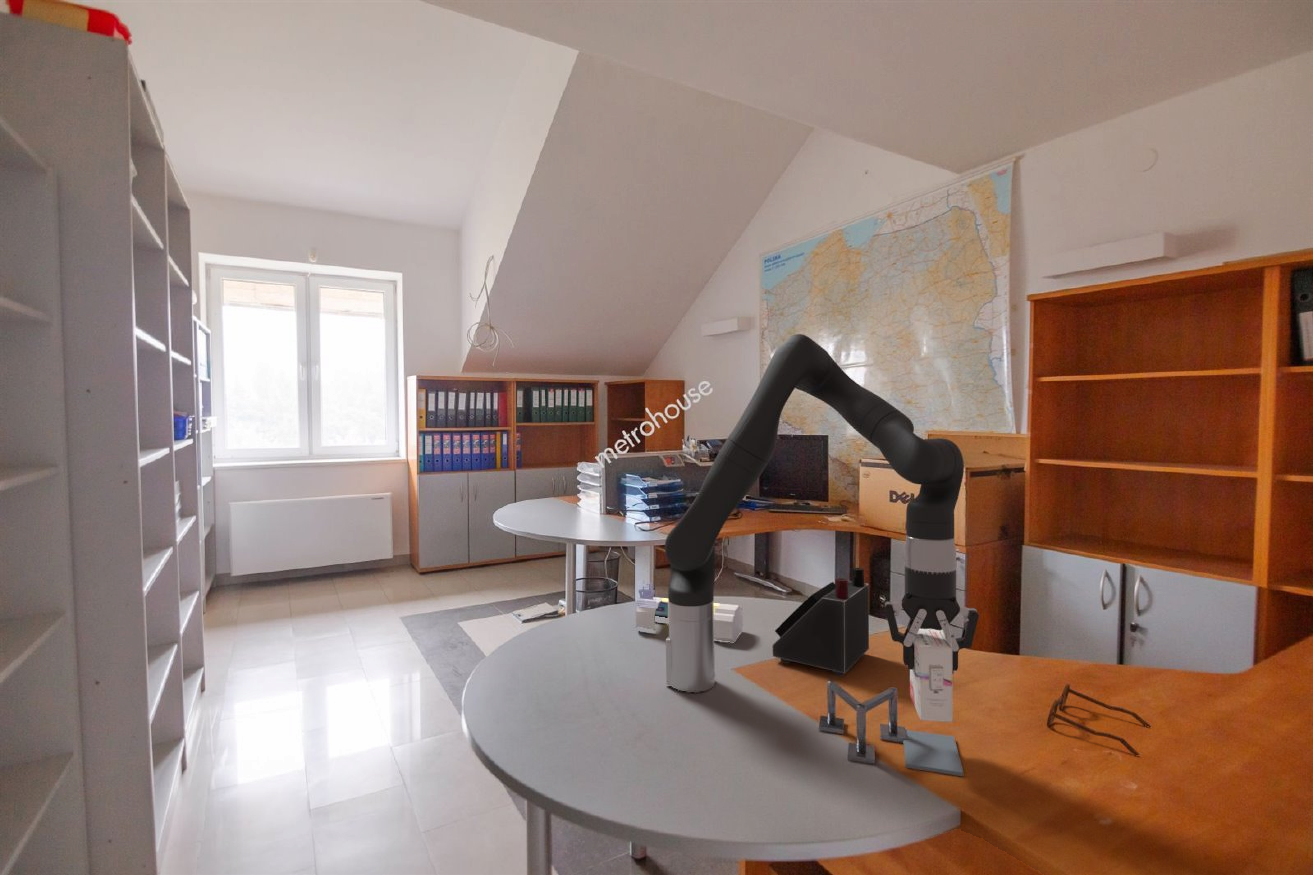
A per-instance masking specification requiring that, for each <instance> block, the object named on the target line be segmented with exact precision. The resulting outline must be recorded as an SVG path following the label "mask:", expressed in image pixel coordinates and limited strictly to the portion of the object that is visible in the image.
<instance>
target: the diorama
mask: <svg viewBox="0 0 1313 875" xmlns="http://www.w3.org/2000/svg"><path fill="white" fill-rule="evenodd" d="M653 589H654V584H653V583H652V582H650V583H646V589H645V586H642V589H641V588H639V589H638V593H639V598H637V607H636V611H635V624H636V625H635V627H643V628H647V629H653V630H655V631H656V627H655V626H656V623H655V616H659V617H665V618H669V612H668V597H667V598H665V597H657V596H655V594H656V590H655V589H654V590H653ZM743 614H744V613H743V607H742V606H741V605H737V604H727V603H717V602H714V639H716V640H722V641H730V642H734V641H735V640H736V638H737V636H738V635H739V633H740V632H741V631H742V632H743V625H744V624H743V623H744V622H743V620H744V619H743V618H744V617H743ZM736 641H737V640H736ZM736 641H735V642H736Z"/></svg>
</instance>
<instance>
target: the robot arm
mask: <svg viewBox="0 0 1313 875" xmlns="http://www.w3.org/2000/svg"><path fill="white" fill-rule="evenodd" d="M795 389H796V390H798V391H800V392H804V393H806V394H808V395H810V396H812V397H813V398H816V399H818V400H820V401H822V402H824V403H825V404H827V405H828V406H830V407H831V408H832V409H834V410H835V411H836V412H837V413H838V414H839V415H840V416H841V417H842V418H843V419H844V420H845V421H846V423H847V424H849V425H850V426H851V427H852V429H853V430H855V431H856V432H857V433H858V434H860V435H861V437H863V438H865V439H866V440H867V441H868V442H869V443H871V444H872V445H873V446H875V447H876V449H878V450H879V451H880V453H881V454H882V456H883V457H884V459H885V460H886V461H887V462H888V464H889V465H890V466H891V468H892V469H893V470H894V471H895V472H896V474H897V475H898V476H900V477H901V478H903V479H904V480H905V481H908V482H910V483H912V484H915V485H920V488H919V491H918V492H919V493H918V494H917V496H916V497H914V498H912V499H911V500H910V501H909V502H908V503H907V505H906V509H905V510H906V511H905V512H906V513H905V522H906V523H905V531H906V532H905V543H904V555H903V560H904V595H903V597H902V599H901V600H900V601H894V602H892V601H890V600H887V601H885V602H884V611H885V615H886V620H887V623H888V624H887V625H888V627H889V631H890V633H889V634H890V637H891V640H892V641H893V642H896V643H899V644H901V645H902V661H903V662H902V663H903V665H904V666H907V668H908V670H910V669H911V670H913V645H912V643H913V640H914V638H915V636H916V635H917V633H918V631H919V629H935V630H942V629H943V632H944V634H945V636H946V639H947V631H946V625H945V624H948V626H949V627H950V632H951V643H952V675H954V673H955V672H954V671H956V672H957V671H958V669H959V651H960V650H962V649H967V650H969V649H971V648H972V646H973V642H974V637H975V634H976V630H977V625H978V621H979V618H980V616H979V615H980V614H979V613H978V611H977V609H976V608H975V607H972V606H970V607H965V606H962V605H960V604H959V602H958V601H957V600H958V599H957V549H956V548H957V547H956V543H955V541H956V540H955V509H956V507H957V503H958V499H959V496H960V492H961V487H962V482H963V478H964V472H965V471H964V469H965V465H964V464H965V462H964V458H963V454H962V452H961V449H960V447H959V446H958V445H957V443H955V442H953V441H952V440H950V439H947V438H942V437H941V438H940V437H939V438H925V439H923V438H922V437H920V436H918V435H916V433H914V432H915V431H914V430H915V428H914V423H913V422H912V421H913V420H911V419H910V418H909V417H908V416H907V415H906V414H905V413H903V412H901V410H899V409H898V408H896V407H895V406H893V405H892V404H891V403H889V402H888V401H886V400H885V399H884V398H882V397H881V396H879V395H877V394H876V393H874V392H872V391H871V390H869V389H867V388H865V387H864V386H862V385H860V384H858V383H857V382H856V381H855V380H854V379H853V378H851V377H850V376H849V375H848V374H846V372H845V371H844V370H842V368H841V367H840V366H839V365H838V364H837V362H836V361H835V360H834V359H833V358H832V356H831V355H830V354H829V352H828V351H827V350H826V349H825V348H824V347H822V346H821V345H820V344H819V343H817V342H816V341H815V340H813V339H812V338H810V337H809V336H808V335H806V334H800V333H799V334H798V333H797V334H793V335H790V336H789V337H787V338H786V339H784V340H783V341H782V342H781V343H780V344H779V345H778V347H777V349H776V350H775V352H774V353H773V355H772V356H771V359H770V361H769V362H768V365H767V367H766V369H765V371H764V373H763V375H762V378H761V379H760V381H759V383H758V386H757V388H756V389H755V392H754V394H753V395H752V397H751V399H750V401H749V403H748V404H747V406H746V408H745V410H744V411H743V413H742V415H741V416H740V418H739V420H738V422H736V423H737V424H736V425H735V426H734V428H733V429H732V431H731V432H730V434H729V435H728V437H727V438H726V440H725V442H724V443H723V445H722V446H721V449H720V450H719V451H718V453H717V455H716V457H715V458H714V461H713V462H712V464H711V466H710V468H709V470H708V472H707V475H706V476H705V478H704V480H703V483H702V485H701V487H700V489H699V491H698V493H697V495H696V497H695V499H694V500H693V502H692V503H691V504H690V506H689V507H688V509H687V510H686V512H685V513H684V514H683V516H682V517H681V518H680V519H679V521H678V522H677V523H676V524H675V526H674V527H673V528H672V529H670V531H669V533H668V534H667V536H666V538H665V542H664V552H665V557H666V559H667V561H668V563H669V564H670V577H669V583H668V587H667V592H668V593H667V596H668V597H667V598H668V612H669V625H668V636H667V638H666V639H665V672H666V673H665V676H666V678H665V681H666V682H665V684H667V685H671V686H673V687H675V688H677V689H678V690H677V691H679V690H682V691H688V692H687V693H691V692H694V693H700V692H699V691H703V692H706V691H708V690H711V689H713V687H714V686H715V684H716V683H715V680H716V679H715V678H716V672H715V664H716V663H715V642H714V603H715V601H714V599H715V598H714V597H715V596H714V591H715V584H716V583H715V579H716V575H715V572H716V571H715V570H716V569H715V568H716V553H715V552H716V550H715V548H716V546H715V545H716V543H715V542H716V541H717V538H718V537H719V534H720V533H721V530H722V529H723V527H724V525H725V523H726V522H727V520H728V518H729V517H730V516H731V514H732V513H733V511H735V509H736V508H737V507H738V506H739V505H740V504H741V502H742V501H743V499H744V498H745V497H746V496H747V495H748V493H749V492H750V490H752V489H753V487H754V485H755V484H756V482H757V481H758V479H759V478H760V477H761V475H762V473H763V471H764V470H765V468H767V465H768V464H769V462H770V460H771V459H772V457H773V455H774V452H775V449H776V445H777V440H778V439H777V438H778V434H779V433H778V432H779V426H780V420H781V415H782V412H783V409H784V407H785V405H786V403H787V401H788V399H789V398H790V397H791V395H792V393H793V391H794V390H795ZM901 610H903V611H904V612H905V613H906V614H907V616H908V617H909V621H908V623H907V626H906V629H905V632H900V631H899V627H898V623H897V619H896V617H898V616H899V615H900V612H901ZM958 614H961V615H960V616H961V619H962V621H963V622H964V624H963V628H962V632H961V637H957V638H956V637H955V634H954V632H953V630H952V627H951V623H952V621H953V620H954V619H955V618H956V617H957V616H958ZM682 691H681V692H682Z"/></svg>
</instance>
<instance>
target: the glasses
mask: <svg viewBox="0 0 1313 875" xmlns="http://www.w3.org/2000/svg"><path fill="white" fill-rule="evenodd" d="M1069 693H1070V694H1072V695H1075V696H1077V697H1079V698H1081V699H1084V700H1086V701H1088V702H1091V703H1093V704H1094V705H1095V704H1096V705H1098V706H1100V707H1103V708H1104V709H1107V710H1112V711H1116V712H1121V713H1124V714H1127V715H1130V716H1131V717H1133V718H1134V719H1136V720H1137V721H1138V722H1139V723H1140V724H1142V726H1144V725H1146V726H1149V727H1151V726H1152V725H1151V724H1149V723H1148V722H1147V721H1145V720H1144V719H1143V718H1141V716H1139V715H1138V714H1137V713H1136V712H1134V711H1131V710H1129V709H1125V708H1123V707H1120V706H1114V705H1110V704H1107V703H1105V702H1102V701H1100V700H1099V699H1095V698H1093V697H1091V696H1088V695H1086V694H1083V693H1081V692H1078V691H1077V690H1074V689H1071V686H1070V684H1068V683H1067V684H1066V685H1065V687H1064V688H1063V691H1062V693H1061V695H1060V696H1059V698H1058V699H1055V700H1054V701H1053V703H1052V704H1051V708H1050V710H1049V713H1048V716H1047V722H1046V726H1047V727H1048V728H1050V727H1051V726H1052V725H1053V723H1054V720H1055V718H1056V719H1059V720H1060V721H1062V722H1064V723H1066V724H1069V725H1071V726H1074V727H1076V728H1078V729H1080V730H1083V731H1084V732H1087V733H1089V734H1091V735H1093V736H1099V737H1104V738H1109V739H1111V740H1116V741H1119V742H1120V743H1121V744H1122V745H1123V746H1124V747H1125V748H1126V749H1127V750H1128V752H1130V753H1131V754H1132V753H1133V754H1135V755H1134V756H1136V755H1140V754H1139V752H1138V751H1137V750H1136V749H1135V748H1133V746H1132V745H1131V744H1130V743H1129V742H1127V740H1126V739H1125V738H1124V737H1123V738H1122V737H1120V736H1119V735H1115V734H1112V733H1109V732H1104V731H1097V730H1095V729H1092V728H1090V727H1087V726H1085V725H1083V724H1082V723H1079V722H1077V721H1074V720H1072V719H1070V718H1068V717H1066V716H1064V715H1061V714H1059V713H1058V710H1060V711H1062V710H1063V709H1064V707H1065V705H1066V702H1067V701H1068V700H1067V699H1068V697H1069ZM1051 724H1052V725H1051ZM1146 726H1145V727H1146ZM1149 727H1148V728H1149ZM1133 754H1132V755H1133Z"/></svg>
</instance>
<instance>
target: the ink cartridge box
mask: <svg viewBox="0 0 1313 875" xmlns="http://www.w3.org/2000/svg"><path fill="white" fill-rule="evenodd" d="M945 625H946V631H947V639H946V636H945V634H944V632H943V629H942V630H935V629H932V628H929V629H919V631H918V633H917V635H916V636H915V638H914V640H913V643H912V645H913V670H911V669H909V695H910V698H911V701H912V703H913V705H914V708H915V711H916V713H917V715H918V718H919V719H920V721H925V722H926V721H928V722H943V723H952V722H954V721H953V720H954V719H953V718H954V717H953V715H954V713H953V712H954V711H953V709H954V708H953V707H954V706H953V705H954V704H953V674H952V643H951V632H950V627H951V626H950V627H949V626H948V624H945Z"/></svg>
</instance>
